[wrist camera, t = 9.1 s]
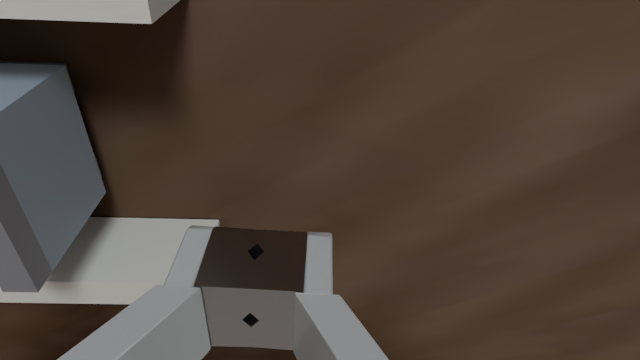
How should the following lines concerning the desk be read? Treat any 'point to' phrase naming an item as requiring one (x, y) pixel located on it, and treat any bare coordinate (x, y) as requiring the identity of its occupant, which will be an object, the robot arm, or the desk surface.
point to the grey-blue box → (41, 172)
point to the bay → (106, 232)
